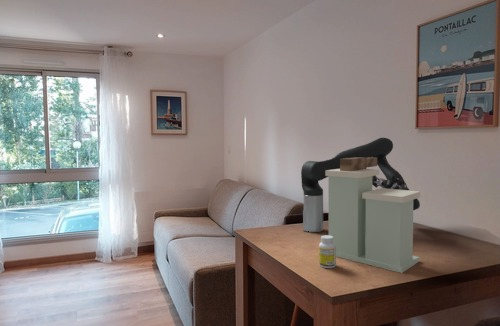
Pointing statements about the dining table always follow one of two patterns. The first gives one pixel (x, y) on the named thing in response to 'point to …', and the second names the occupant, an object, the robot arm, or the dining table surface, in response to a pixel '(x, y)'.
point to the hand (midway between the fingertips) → (381, 176)
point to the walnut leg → (357, 163)
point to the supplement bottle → (327, 252)
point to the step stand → (371, 220)
